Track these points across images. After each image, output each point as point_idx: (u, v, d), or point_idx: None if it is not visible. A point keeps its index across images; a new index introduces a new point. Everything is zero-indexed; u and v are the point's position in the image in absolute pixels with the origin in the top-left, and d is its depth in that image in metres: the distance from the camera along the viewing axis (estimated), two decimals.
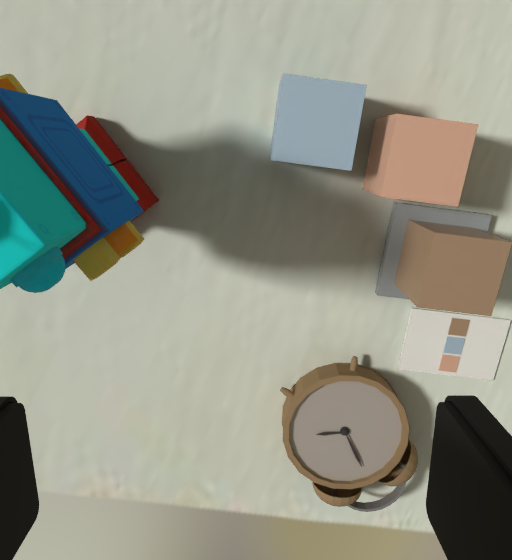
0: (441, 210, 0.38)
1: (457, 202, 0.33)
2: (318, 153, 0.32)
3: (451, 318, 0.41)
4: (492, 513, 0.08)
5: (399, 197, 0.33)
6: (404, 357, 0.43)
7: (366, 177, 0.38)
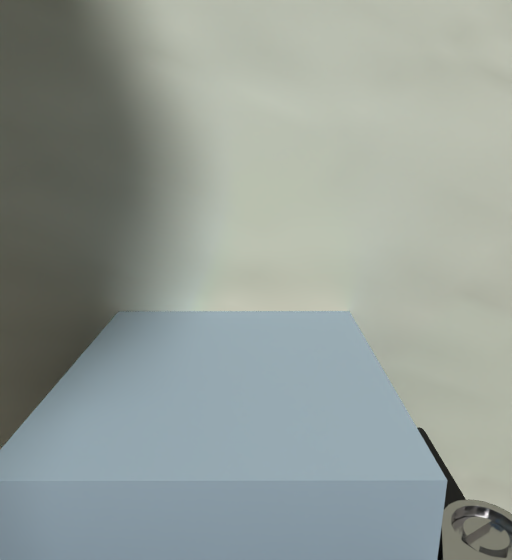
0: None
1: None
2: None
3: None
4: None
5: None
6: None
7: None
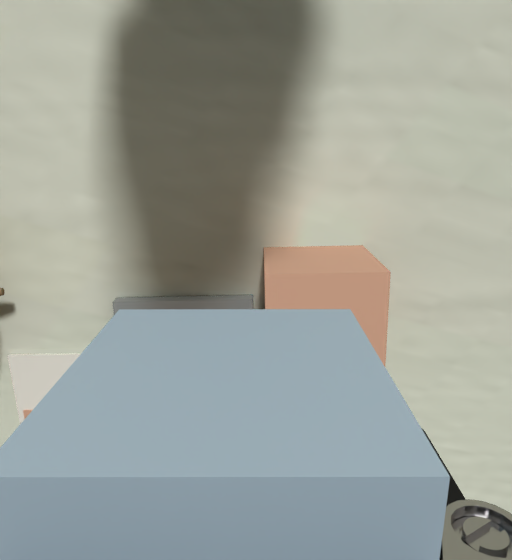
0: None
1: None
2: None
3: None
4: None
5: (267, 302, 0.21)
6: (28, 360, 0.28)
7: (281, 249, 0.26)
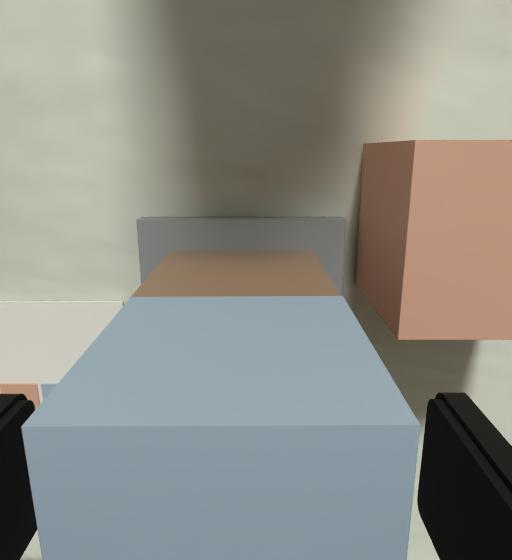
0: None
1: (408, 336, 0.14)
2: None
3: None
4: (479, 507, 0.08)
5: (415, 191, 0.12)
6: (8, 310, 0.19)
7: None
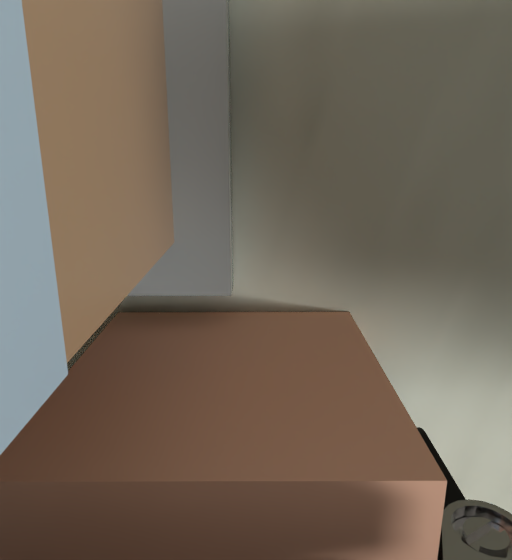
0: None
1: None
2: None
3: None
4: None
5: (334, 489, 0.06)
6: None
7: None
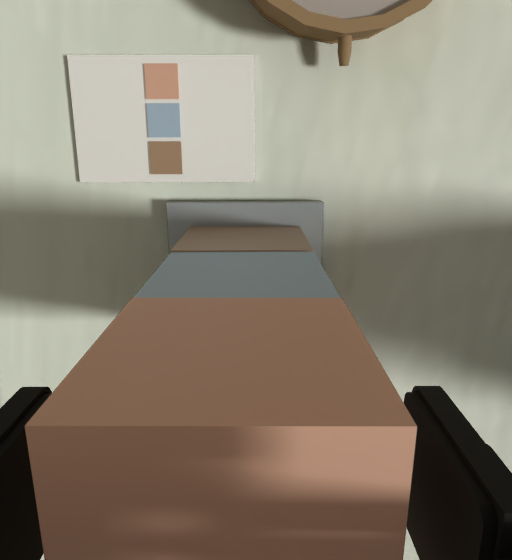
0: None
1: (35, 444, 0.07)
2: None
3: (183, 172, 0.24)
4: (447, 495, 0.08)
5: (324, 433, 0.07)
6: (247, 82, 0.23)
7: None
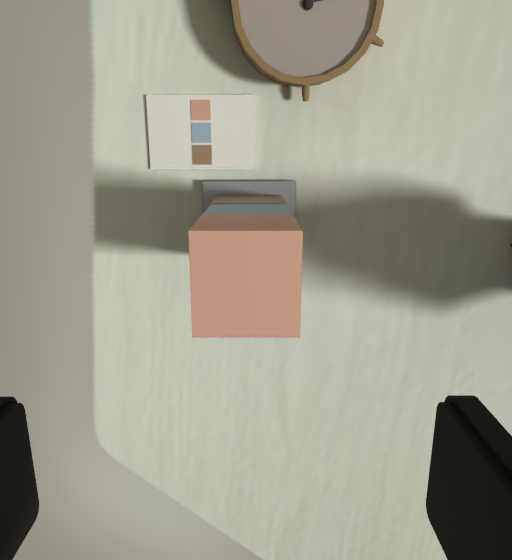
0: None
1: (191, 236, 0.23)
2: None
3: (212, 163, 0.40)
4: (492, 513, 0.08)
5: (275, 233, 0.23)
6: (251, 110, 0.39)
7: None
